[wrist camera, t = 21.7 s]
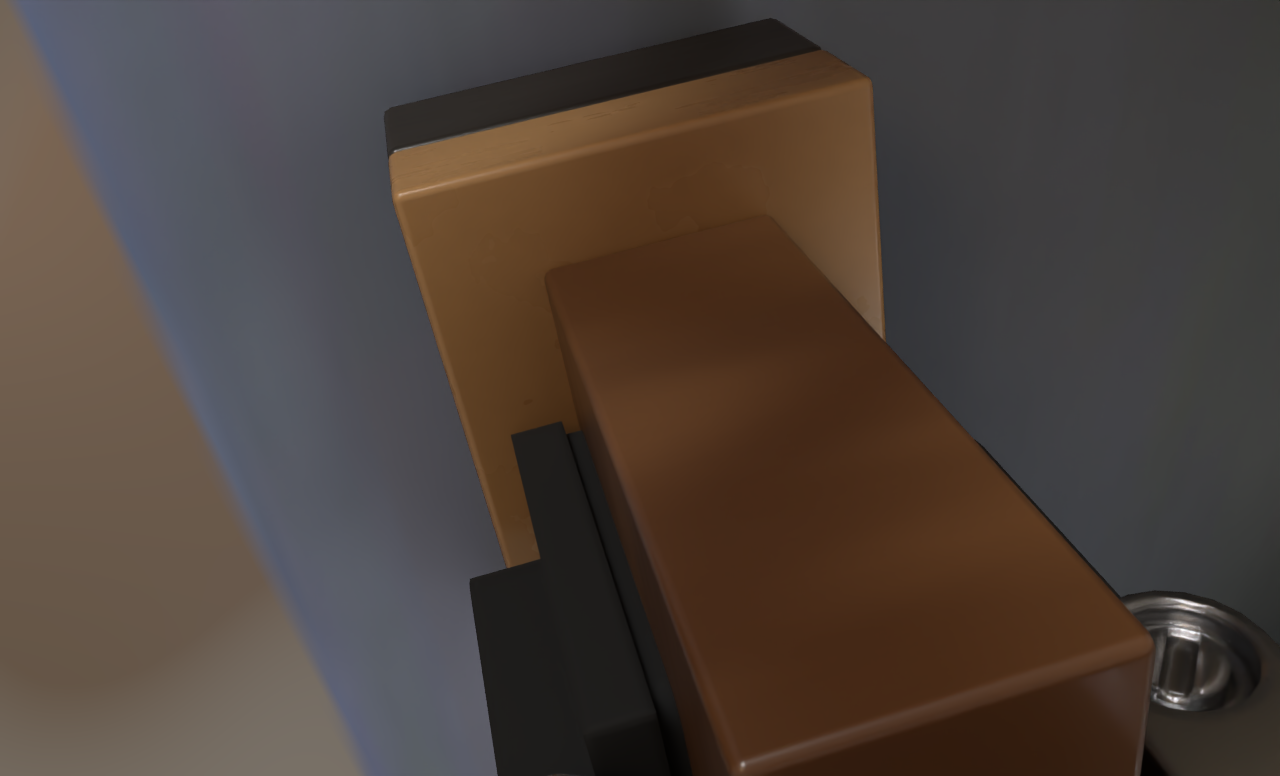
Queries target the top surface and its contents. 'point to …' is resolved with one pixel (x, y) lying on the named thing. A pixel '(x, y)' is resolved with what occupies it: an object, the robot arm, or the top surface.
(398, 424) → the top surface
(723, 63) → the brush
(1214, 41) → the top surface
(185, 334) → the top surface
